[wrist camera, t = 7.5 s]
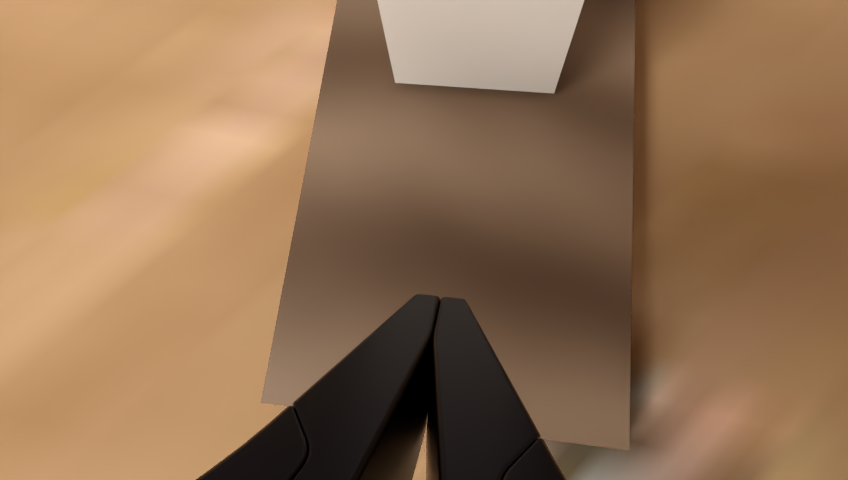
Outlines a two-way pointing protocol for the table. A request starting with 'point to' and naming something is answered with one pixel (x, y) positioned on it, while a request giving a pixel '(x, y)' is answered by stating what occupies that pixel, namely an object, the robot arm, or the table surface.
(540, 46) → the plug
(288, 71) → the table surface
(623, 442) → the board
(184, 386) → the table surface
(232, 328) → the table surface
